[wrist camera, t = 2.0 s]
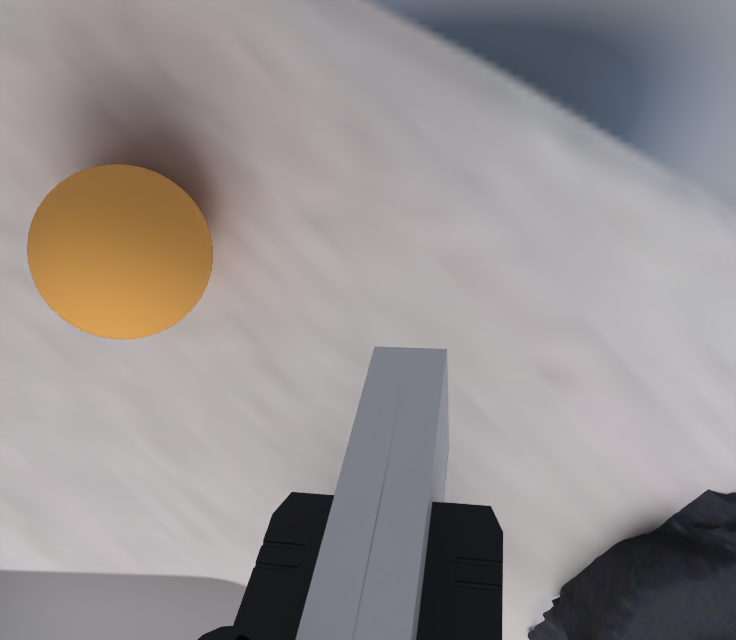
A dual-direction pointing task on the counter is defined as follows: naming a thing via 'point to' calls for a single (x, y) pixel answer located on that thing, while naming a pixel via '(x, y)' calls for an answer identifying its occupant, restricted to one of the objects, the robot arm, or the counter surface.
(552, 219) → the counter surface
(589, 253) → the counter surface
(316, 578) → the robot arm
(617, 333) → the counter surface
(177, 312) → the ball
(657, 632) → the dark slate chunk
